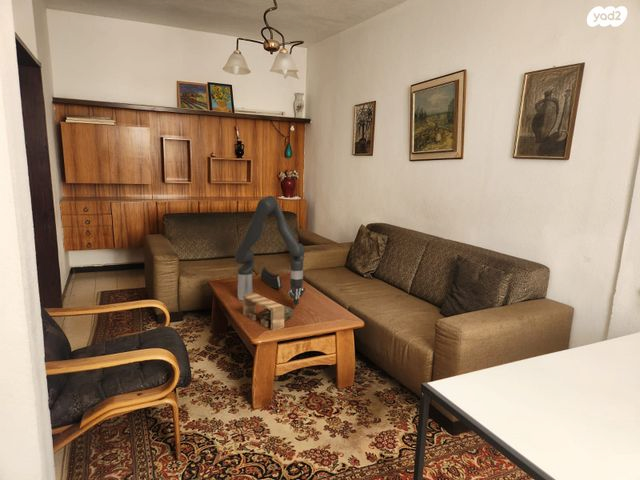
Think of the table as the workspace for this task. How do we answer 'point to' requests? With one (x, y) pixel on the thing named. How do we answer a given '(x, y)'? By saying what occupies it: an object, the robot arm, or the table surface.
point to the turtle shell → (267, 314)
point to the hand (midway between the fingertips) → (295, 304)
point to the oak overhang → (275, 308)
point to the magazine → (271, 279)
